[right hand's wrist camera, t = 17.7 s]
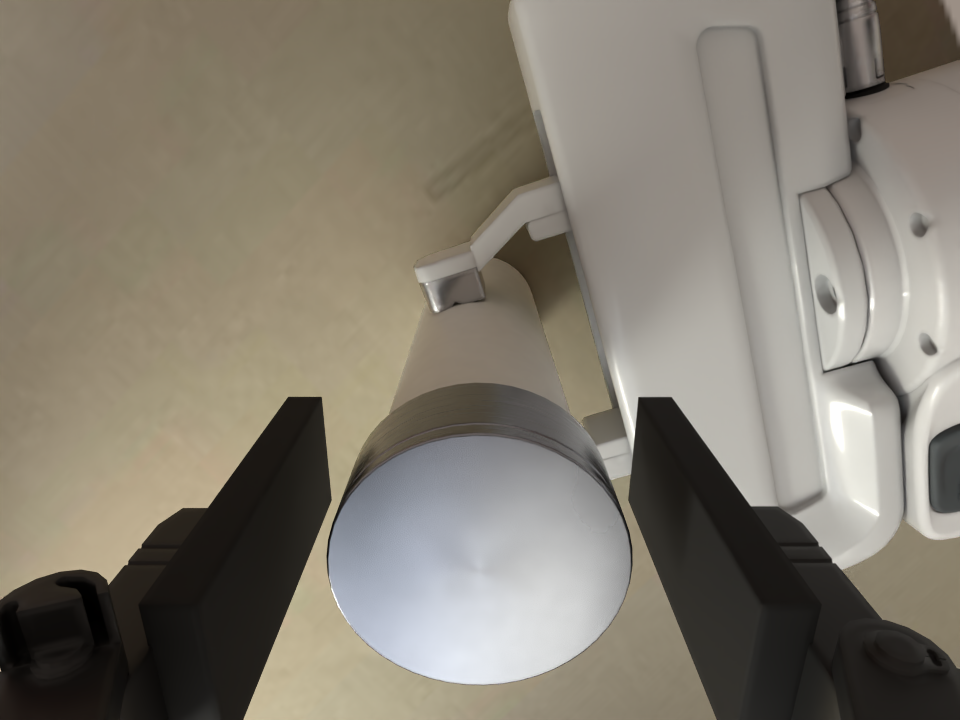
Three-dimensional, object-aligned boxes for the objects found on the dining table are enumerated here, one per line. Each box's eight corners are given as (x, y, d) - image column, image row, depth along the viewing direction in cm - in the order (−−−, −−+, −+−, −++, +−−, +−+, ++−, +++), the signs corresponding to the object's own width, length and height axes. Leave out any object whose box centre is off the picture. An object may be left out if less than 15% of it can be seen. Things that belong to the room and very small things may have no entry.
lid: (322, 403, 12) (289, 459, 10) (595, 362, 11) (620, 411, 9) (381, 617, 13) (364, 701, 11) (618, 586, 13) (643, 667, 11)
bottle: (498, 234, 25) (524, 386, 10) (553, 326, 26) (649, 580, 11) (404, 292, 25) (301, 511, 11) (463, 378, 27) (442, 678, 12)
